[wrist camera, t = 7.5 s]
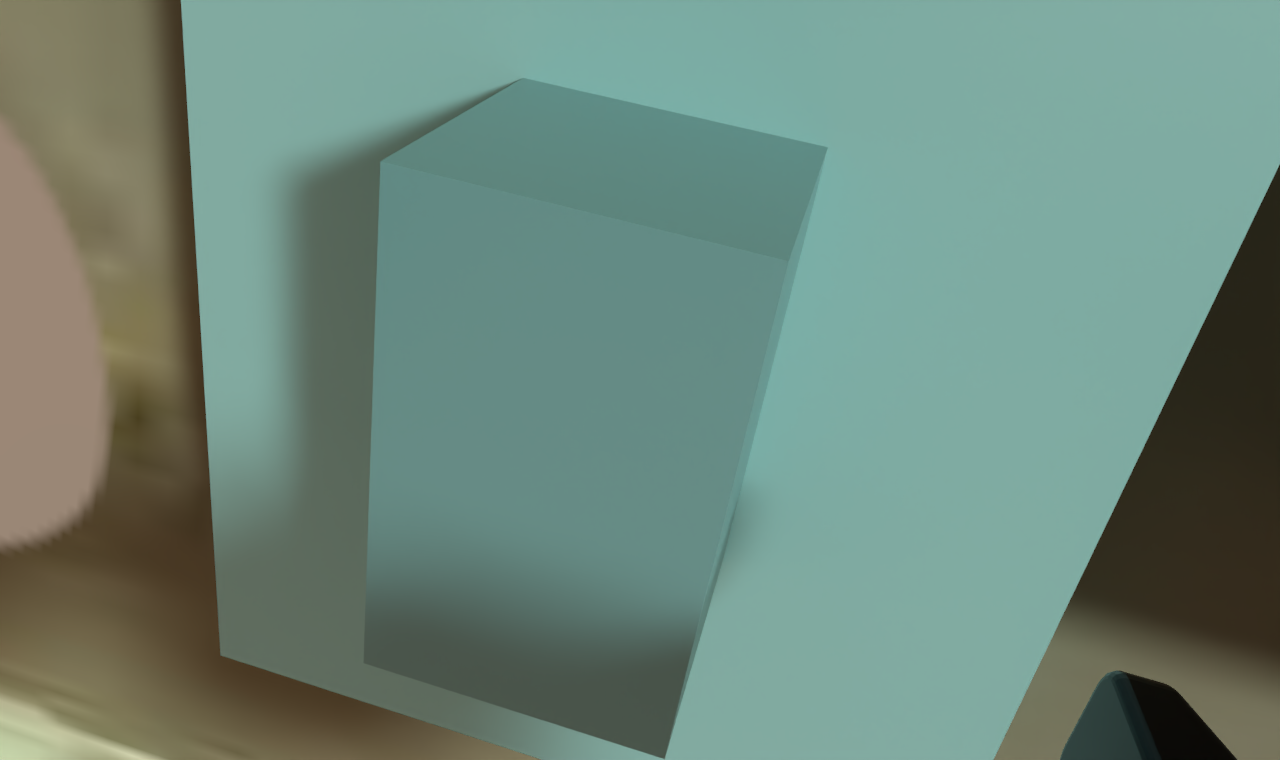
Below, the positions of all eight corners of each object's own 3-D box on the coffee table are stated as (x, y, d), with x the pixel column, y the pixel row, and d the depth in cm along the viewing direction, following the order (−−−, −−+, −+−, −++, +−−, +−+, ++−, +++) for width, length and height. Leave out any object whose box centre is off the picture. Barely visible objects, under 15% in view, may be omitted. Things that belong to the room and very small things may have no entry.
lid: (932, 743, 16) (931, 1131, 11) (309, 553, 17) (73, 824, 12) (1381, -292, 9) (1854, -428, 4) (307, -459, 11) (-198, -697, 6)
